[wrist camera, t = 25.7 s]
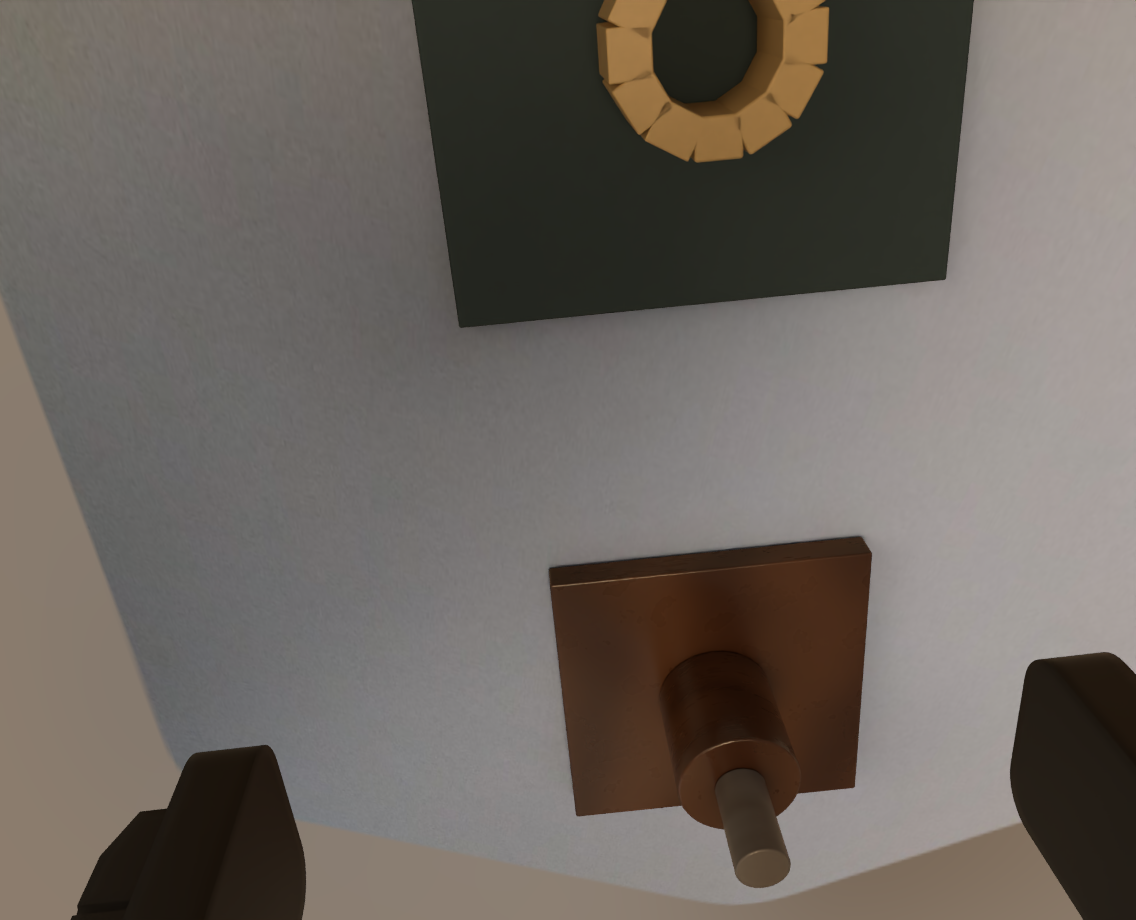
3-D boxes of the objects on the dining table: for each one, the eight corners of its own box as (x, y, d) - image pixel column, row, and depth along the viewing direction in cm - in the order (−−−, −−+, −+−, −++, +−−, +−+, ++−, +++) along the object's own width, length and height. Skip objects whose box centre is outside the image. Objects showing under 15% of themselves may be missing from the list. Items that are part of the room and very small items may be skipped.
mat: (460, 322, 31) (459, 328, 31) (373, -278, 24) (370, -284, 23) (938, 274, 31) (946, 280, 31) (998, -337, 24) (1009, -343, 24)
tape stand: (574, 795, 41) (590, 1005, 33) (548, 567, 36) (560, 749, 27) (846, 767, 42) (932, 969, 33) (861, 535, 36) (969, 707, 28)
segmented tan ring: (604, 153, 29) (614, 171, 26) (590, -67, 26) (599, -71, 23) (795, 134, 29) (824, 150, 26) (800, -87, 26) (833, -94, 23)
